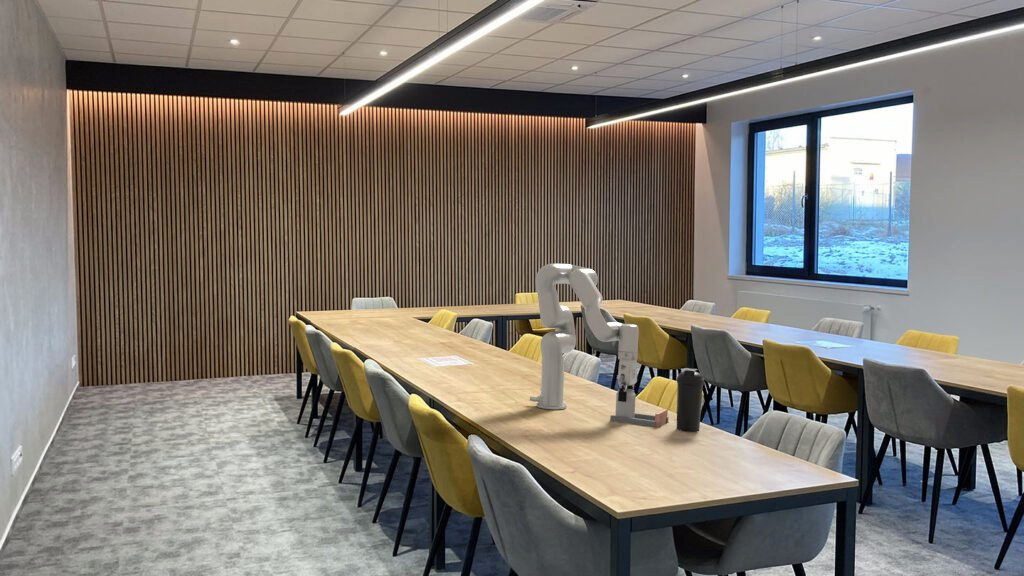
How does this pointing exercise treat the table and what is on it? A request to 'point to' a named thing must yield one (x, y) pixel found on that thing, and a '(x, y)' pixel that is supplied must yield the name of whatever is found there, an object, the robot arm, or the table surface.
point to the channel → (644, 419)
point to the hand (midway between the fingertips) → (625, 399)
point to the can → (626, 405)
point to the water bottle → (689, 400)
